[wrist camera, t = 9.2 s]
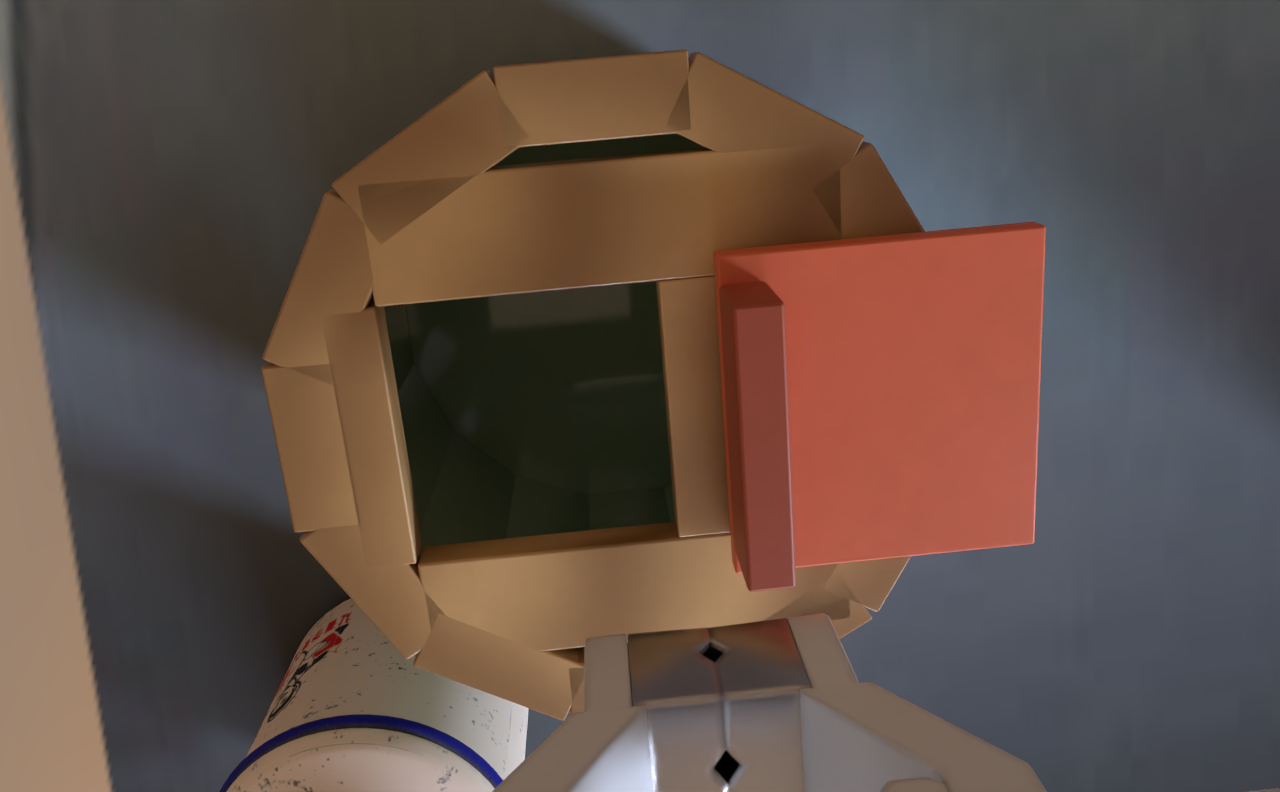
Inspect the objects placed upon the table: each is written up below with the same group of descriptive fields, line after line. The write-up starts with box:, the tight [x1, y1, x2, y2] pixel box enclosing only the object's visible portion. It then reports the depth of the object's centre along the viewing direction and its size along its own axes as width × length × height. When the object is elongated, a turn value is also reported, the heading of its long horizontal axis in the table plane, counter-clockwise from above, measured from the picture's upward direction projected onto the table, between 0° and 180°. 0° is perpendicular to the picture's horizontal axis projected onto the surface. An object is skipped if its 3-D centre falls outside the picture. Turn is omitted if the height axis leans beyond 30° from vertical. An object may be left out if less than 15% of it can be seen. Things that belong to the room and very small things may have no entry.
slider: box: [713, 222, 1046, 592], centre depth 22 cm, size 7×7×3 cm
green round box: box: [384, 133, 704, 556], centre depth 29 cm, size 14×14×11 cm
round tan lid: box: [261, 50, 925, 721], centre depth 23 cm, size 15×15×1 cm
